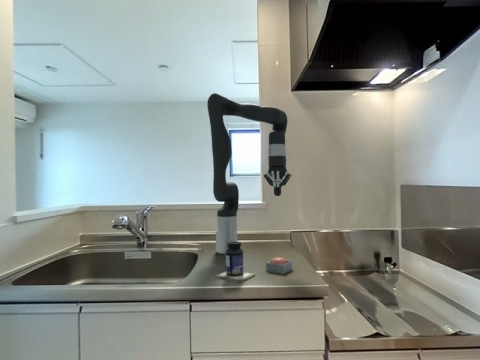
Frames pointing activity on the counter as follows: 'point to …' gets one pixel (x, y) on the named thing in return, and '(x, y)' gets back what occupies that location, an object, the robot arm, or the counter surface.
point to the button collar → (279, 267)
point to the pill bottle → (234, 259)
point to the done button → (279, 261)
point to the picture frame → (235, 277)
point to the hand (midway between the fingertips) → (277, 195)
